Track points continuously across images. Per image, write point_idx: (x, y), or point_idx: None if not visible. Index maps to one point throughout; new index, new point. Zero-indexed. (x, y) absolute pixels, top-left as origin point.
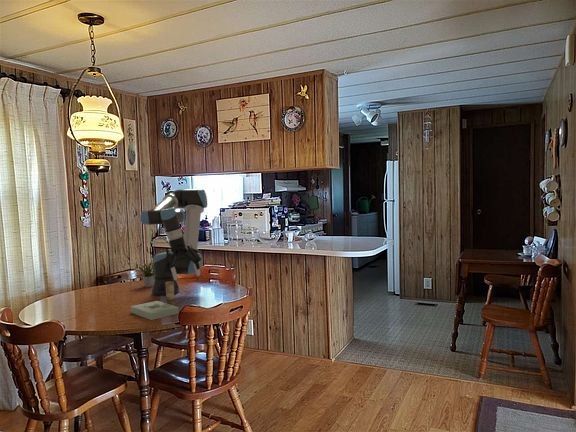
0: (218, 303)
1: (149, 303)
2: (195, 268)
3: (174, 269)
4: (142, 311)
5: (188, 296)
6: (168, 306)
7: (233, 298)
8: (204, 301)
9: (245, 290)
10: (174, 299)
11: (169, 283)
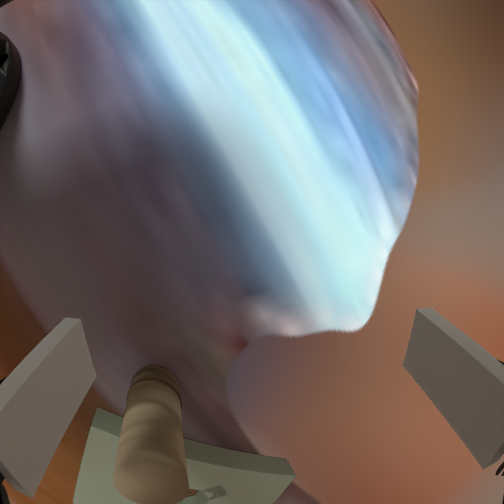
0: (386, 258)
1: (103, 471)
2: (460, 421)
3: (18, 425)
4: None
5: (118, 128)
6: (242, 486)
7: (404, 145)
8: (299, 233)
9: (366, 2)
10: (180, 397)
11: (174, 501)
